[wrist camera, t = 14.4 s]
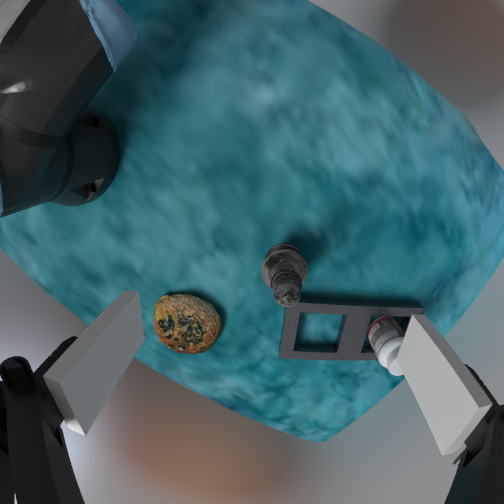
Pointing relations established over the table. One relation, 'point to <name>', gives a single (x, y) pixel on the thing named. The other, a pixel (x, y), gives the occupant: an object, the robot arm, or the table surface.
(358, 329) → the grey rectangular frame
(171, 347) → the bread roll
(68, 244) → the table surface
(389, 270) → the table surface
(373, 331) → the pill bottle
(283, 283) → the grey chess piece
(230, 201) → the table surface
